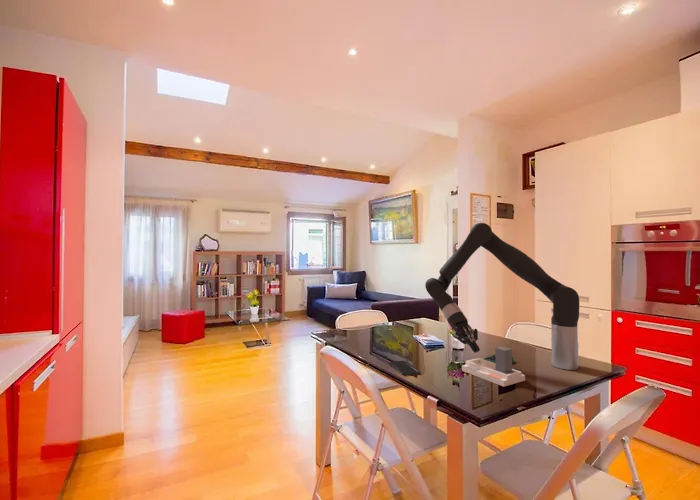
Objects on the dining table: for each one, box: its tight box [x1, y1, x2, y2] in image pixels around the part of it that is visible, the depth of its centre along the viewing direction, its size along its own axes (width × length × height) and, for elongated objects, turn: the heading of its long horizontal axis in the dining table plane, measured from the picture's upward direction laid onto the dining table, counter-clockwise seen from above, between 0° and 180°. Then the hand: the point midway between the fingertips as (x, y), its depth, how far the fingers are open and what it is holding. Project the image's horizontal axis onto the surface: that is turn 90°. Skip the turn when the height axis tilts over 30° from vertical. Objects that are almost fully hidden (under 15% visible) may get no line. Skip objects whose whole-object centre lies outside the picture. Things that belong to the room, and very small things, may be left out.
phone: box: [388, 360, 421, 377], centre depth 138 cm, size 8×1×15 cm
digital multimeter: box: [483, 354, 514, 363], centre depth 146 cm, size 7×15×3 cm, turn 131°
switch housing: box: [461, 357, 526, 387], centre depth 131 cm, size 12×19×4 cm, turn 29°
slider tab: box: [494, 346, 514, 374], centre depth 126 cm, size 5×5×9 cm
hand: (477, 351), depth 137 cm, fingers closed
